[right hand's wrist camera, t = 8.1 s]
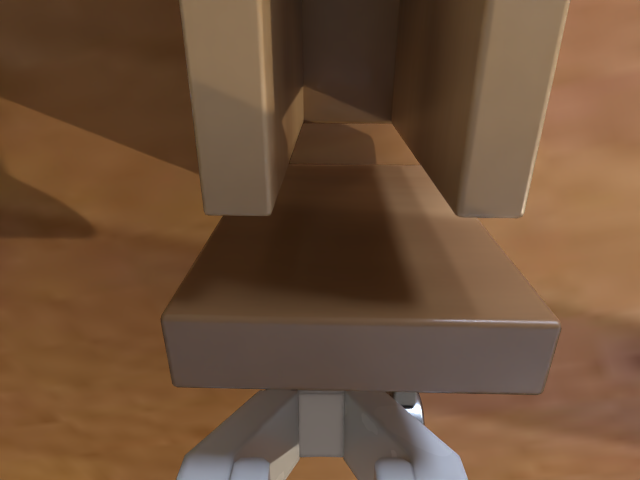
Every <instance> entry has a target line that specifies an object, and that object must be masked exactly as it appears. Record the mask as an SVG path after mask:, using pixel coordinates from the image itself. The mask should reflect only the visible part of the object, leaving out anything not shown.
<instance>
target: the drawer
mask: <svg viewBox="0 0 640 480" xmlns="http://www.w3.org/2000/svg"><path fill="white" fill-rule="evenodd" d="M569 4H570V0H179V6H180V14H181V22H182V31H183V39H184V48H185V56H186V65H187V73H188V82H189V90H190V98H191V107H192V115H193V124H194V132H195V141H196V149H197V158H198V166H199V175H200V183H201V191H202V200H203V208H204V212H205V214H206V215H221V216H223V217H222V218H221V220H220V221H219V223H218V225H217V226H216V228H215V229H214V231H213V233H212V234H211V236H210V238H209V239H208V241H207V242H206V244H205V246H204V247H203V249H202V250H201V252H200V254H199V255H198V257H197V259H196V260H195V262H194V263H193V265H192V267H191V268H190V270H189V271H188V273H187V275H186V276H185V278H184V280H183V281H182V283H181V284H180V286H179V288H178V289H177V291H176V293H175V294H174V296H173V297H172V299H171V301H170V302H169V304H168V305H167V307H166V309H165V310H164V312H163V314H162V316H161V325H162V330H163V336H164V341H165V347H166V352H167V358H168V363H169V368H170V374H171V379H172V384H173V385H174V386H176V387H189V388H236V389H282V390H329V391H375V392H386V393H387V394H388V395H390V396H391V397H392V398H393V399H394V400H395V401H396V402H398V403H399V404H400V405H401V406H402V407H403V408H405V409H406V410H407V411H408V412H409V413H410V414H411V415H413V416H414V417H415V418H416V419H417V420H418V421H420V422H421V423H422V424H423V425H424V426H425V424H424V413H423V406H422V401H421V398H420V395H419V393H418V392H422V393H468V394H515V395H539V394H541V393H542V392H543V391H544V387H545V384H546V381H547V377H548V374H549V370H550V367H551V363H552V360H553V356H554V353H555V349H556V346H557V343H558V339H559V336H560V332H561V323H560V321H559V319H558V318H557V317H556V316H555V314H554V313H553V312H552V311H551V309H550V308H549V307H548V306H547V304H546V303H545V302H544V301H543V299H542V298H541V297H540V296H539V294H538V293H537V292H536V291H535V289H534V288H533V287H532V286H531V284H530V283H529V282H528V281H527V279H526V278H525V277H524V276H523V274H522V273H521V272H520V271H519V270H518V268H517V267H516V266H515V265H514V263H513V262H512V261H511V260H510V258H509V257H508V256H507V255H506V253H505V252H504V251H503V250H502V248H501V247H500V246H499V245H498V243H497V242H496V241H495V240H494V238H493V237H492V236H491V235H490V233H489V232H488V231H487V230H486V228H485V227H484V226H483V225H482V223H481V222H480V221H479V220H478V218H520V217H522V216H523V215H524V213H525V208H526V203H527V199H528V194H529V189H530V185H531V180H532V175H533V171H534V166H535V162H536V157H537V152H538V148H539V143H540V138H541V134H542V129H543V124H544V120H545V115H546V111H547V106H548V101H549V97H550V92H551V87H552V83H553V78H554V73H555V69H556V64H557V60H558V55H559V50H560V46H561V41H562V36H563V32H564V27H565V23H566V18H567V13H568V9H569ZM303 123H372V124H393V126H394V127H395V129H396V130H397V131H398V133H399V134H400V136H401V137H402V139H403V140H404V141H405V143H406V144H407V146H408V147H409V149H410V150H411V152H412V153H413V154H414V156H415V157H416V159H417V160H418V162H419V163H420V165H343V164H289V162H290V159H291V156H292V153H293V150H294V148H295V145H296V142H297V139H298V136H299V133H300V130H301V128H302V125H303Z"/></svg>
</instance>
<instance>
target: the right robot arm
mask: <svg viewBox="0 0 640 480" xmlns="http://www.w3.org/2000/svg"><path fill="white" fill-rule="evenodd" d="M299 457H344V460H345V462H346V463H347V465H348V466H349V468H350V469H351V471H352V472H353V473H354V475H355V476H356V478H357V479H358V480H468V478H467V475H466V473H465V470H464V467H463V464H462V462H461V459H460V456H459V455H458V454H456V453H455V452H454V451H453V450H452V449H451V448H450V447H448V446H447V445H446V444H445V443H444V442H443V441H441V440H440V439H439V438H438V437H437V436H436V435H435V434H433V433H432V432H431V431H430V430H429V429H428V428H426V427H425V426H424V425H423V424H422V423H421V422H420V421H418V420H417V419H416V418H415V417H414V416H413V415H411V414H410V413H409V412H408V411H407V410H406V409H405V408H403V407H402V406H401V405H400V404H399V403H398V402H396V401H395V400H394V399H393V398H392V397H391V396H390V395H388V394H387V393H386V392H375V391H329V390H282V389H266V390H260V391H258V392H257V393H256V394H255V395H254V396H253V397H251V398H250V399H249V400H248V401H247V402H246V403H244V404H243V405H242V406H241V407H240V408H239V409H238V410H236V411H235V412H234V413H233V414H232V415H231V416H230V417H228V418H227V419H226V420H225V421H224V422H223V423H221V424H220V425H219V426H218V427H217V428H216V429H215V430H213V431H212V432H211V433H210V434H209V435H208V436H207V437H205V438H204V439H203V440H202V441H201V442H200V443H198V444H197V445H196V446H195V447H194V448H193V449H192V450H190V451H189V452H188V453H187V454H186V455H185V456H184V459H183V462H182V465H181V467H180V470H179V473H178V476H177V479H176V480H286V478H287V477H288V475H289V474H290V472H291V471H292V470H293V468H294V467H295V465H296V464H297V462H298V461H299Z"/></svg>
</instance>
